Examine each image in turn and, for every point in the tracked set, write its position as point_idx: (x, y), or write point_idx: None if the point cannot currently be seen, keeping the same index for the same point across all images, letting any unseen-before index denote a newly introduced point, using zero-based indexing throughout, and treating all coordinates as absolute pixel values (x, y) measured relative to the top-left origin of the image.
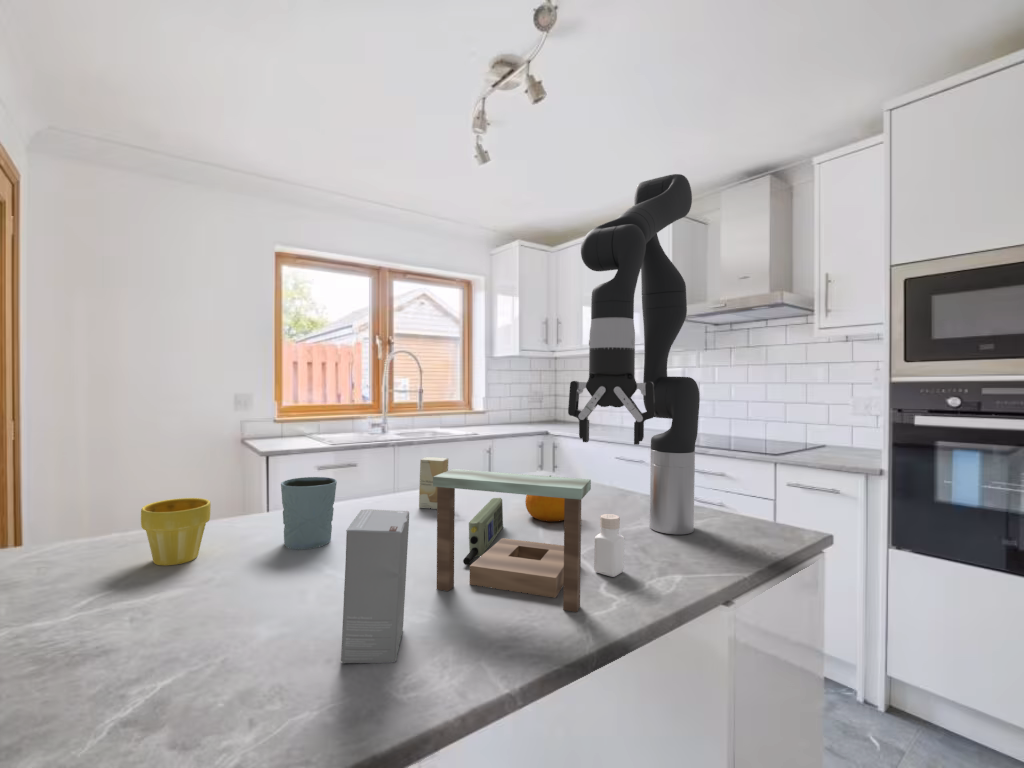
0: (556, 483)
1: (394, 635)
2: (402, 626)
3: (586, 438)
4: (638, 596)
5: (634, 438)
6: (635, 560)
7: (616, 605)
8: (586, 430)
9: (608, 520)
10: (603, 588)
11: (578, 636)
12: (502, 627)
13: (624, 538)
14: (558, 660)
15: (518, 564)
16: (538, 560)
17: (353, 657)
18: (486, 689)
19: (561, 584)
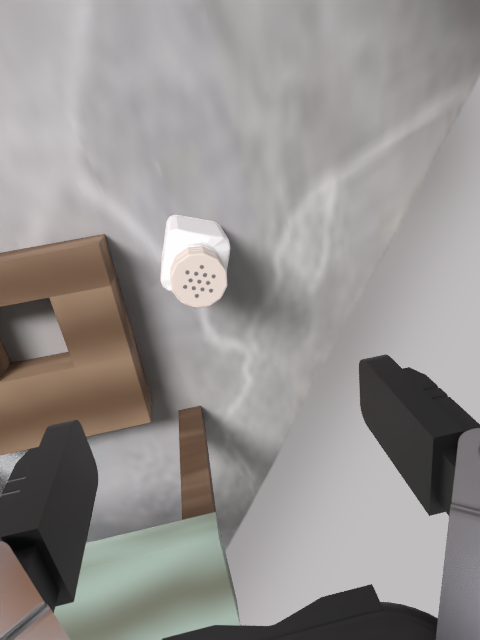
0: (156, 622)
1: None
2: None
3: (95, 492)
4: (274, 323)
5: (378, 437)
6: (221, 128)
7: (250, 373)
8: (85, 534)
9: (204, 306)
10: (209, 324)
11: (232, 473)
12: (134, 505)
13: (228, 240)
14: (231, 521)
15: (50, 408)
16: (71, 369)
17: None
18: None
19: (141, 369)
